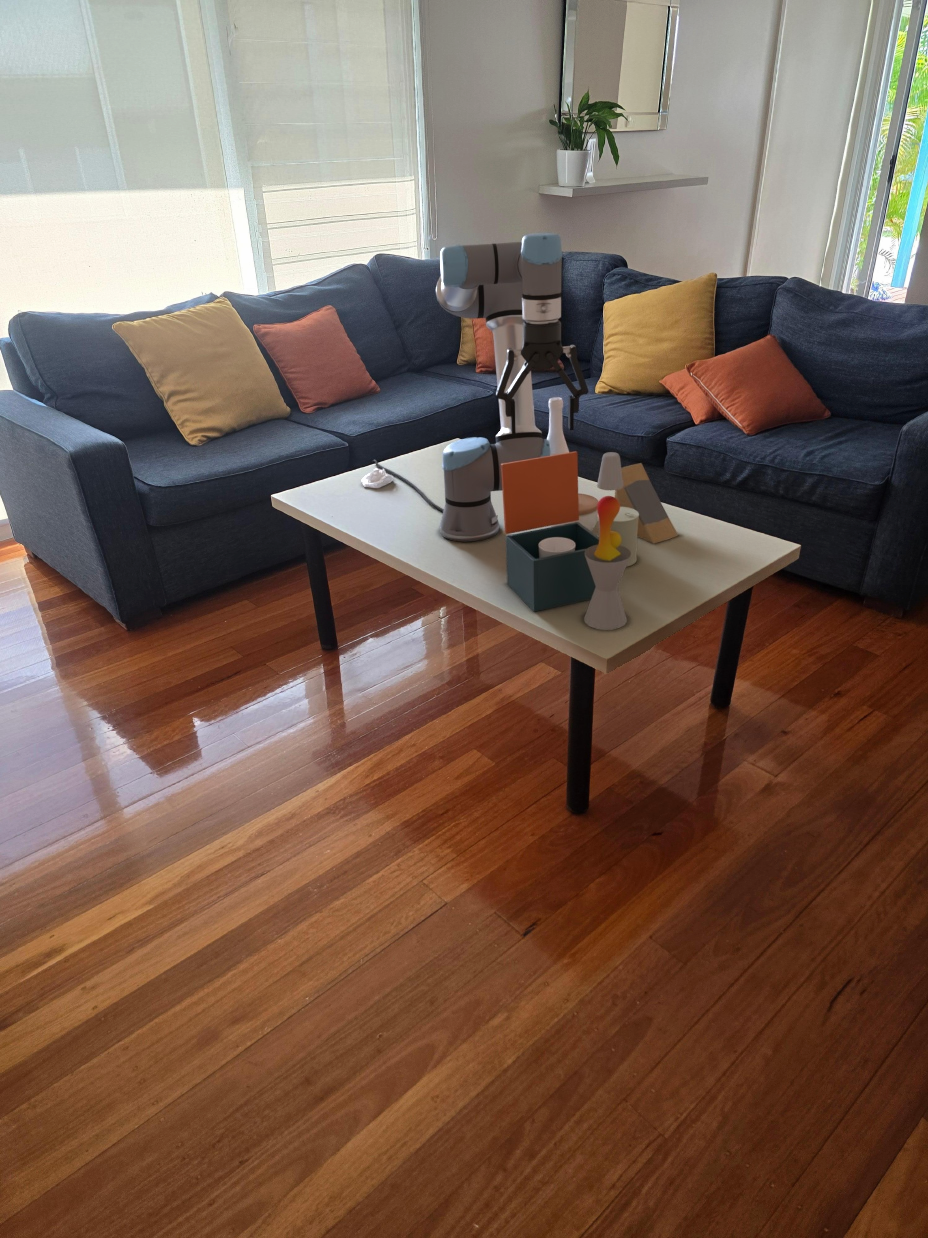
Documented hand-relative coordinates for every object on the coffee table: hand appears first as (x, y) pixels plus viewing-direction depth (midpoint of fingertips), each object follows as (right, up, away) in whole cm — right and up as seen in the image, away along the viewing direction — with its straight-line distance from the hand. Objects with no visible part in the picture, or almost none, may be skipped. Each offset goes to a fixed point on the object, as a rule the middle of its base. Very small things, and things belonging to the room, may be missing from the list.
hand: (541, 429), depth 173 cm
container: (+4, -33, +10) cm, 35 cm away
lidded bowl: (+11, -19, +36) cm, 42 cm away
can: (+20, -26, +22) cm, 39 cm away
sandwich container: (+30, -17, +37) cm, 50 cm away
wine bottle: (+9, -10, +52) cm, 53 cm away
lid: (+1, -12, +7) cm, 14 cm away
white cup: (+4, -32, +10) cm, 34 cm away
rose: (-42, +1, +78) cm, 88 cm away
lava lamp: (+13, -40, -3) cm, 42 cm away
